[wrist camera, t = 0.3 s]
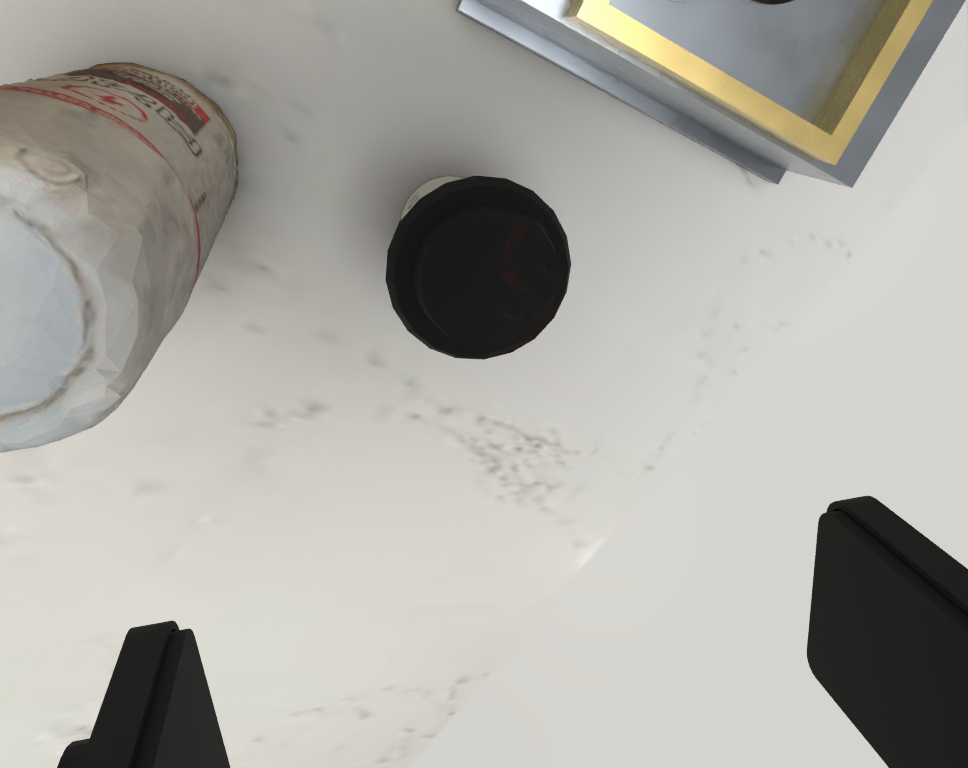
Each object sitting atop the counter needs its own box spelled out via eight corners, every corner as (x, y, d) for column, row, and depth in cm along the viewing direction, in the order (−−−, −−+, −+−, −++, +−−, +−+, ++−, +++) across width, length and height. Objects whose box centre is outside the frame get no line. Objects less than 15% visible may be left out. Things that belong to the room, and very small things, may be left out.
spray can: (288, 176, 35) (239, 312, 17) (158, 299, 36) (-19, 552, 18) (132, 14, 32) (-139, -33, 14) (-7, 156, 33) (-429, 288, 15)
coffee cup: (408, 319, 39) (432, 402, 29) (349, 183, 36) (355, 228, 27) (541, 265, 39) (605, 330, 30) (493, 124, 36) (548, 150, 27)
